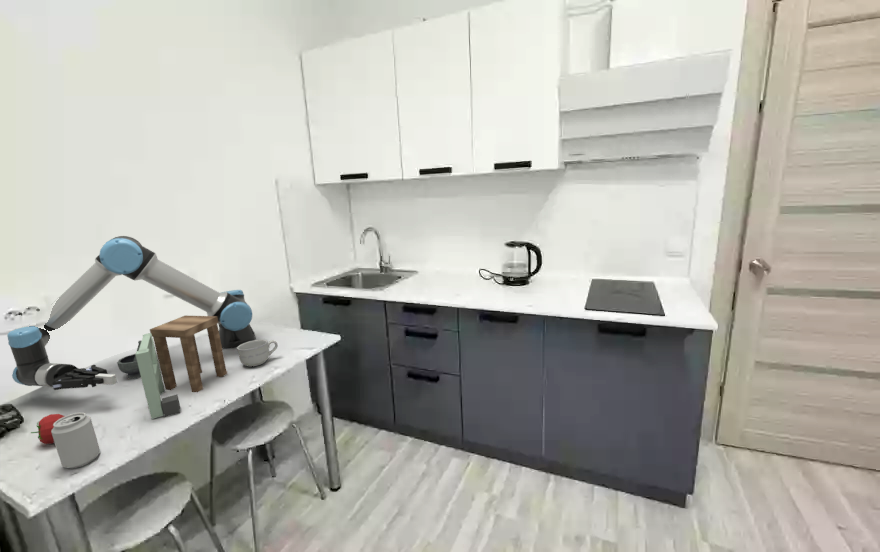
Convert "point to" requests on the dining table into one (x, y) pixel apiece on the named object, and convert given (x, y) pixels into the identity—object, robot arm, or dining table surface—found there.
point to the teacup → (255, 352)
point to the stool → (188, 348)
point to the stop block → (170, 405)
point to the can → (75, 440)
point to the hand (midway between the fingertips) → (114, 379)
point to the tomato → (47, 428)
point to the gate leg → (150, 375)
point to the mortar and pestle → (130, 365)
